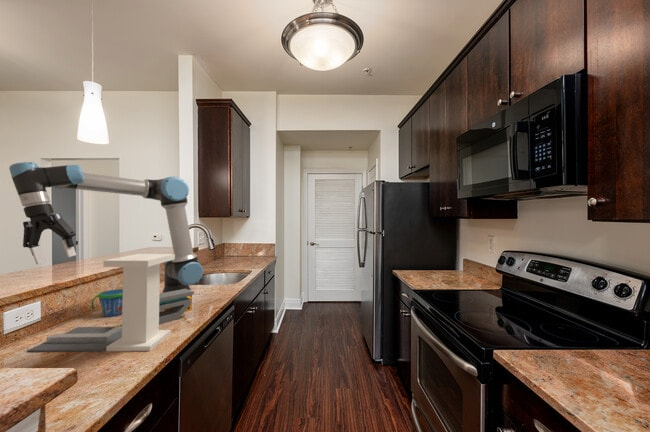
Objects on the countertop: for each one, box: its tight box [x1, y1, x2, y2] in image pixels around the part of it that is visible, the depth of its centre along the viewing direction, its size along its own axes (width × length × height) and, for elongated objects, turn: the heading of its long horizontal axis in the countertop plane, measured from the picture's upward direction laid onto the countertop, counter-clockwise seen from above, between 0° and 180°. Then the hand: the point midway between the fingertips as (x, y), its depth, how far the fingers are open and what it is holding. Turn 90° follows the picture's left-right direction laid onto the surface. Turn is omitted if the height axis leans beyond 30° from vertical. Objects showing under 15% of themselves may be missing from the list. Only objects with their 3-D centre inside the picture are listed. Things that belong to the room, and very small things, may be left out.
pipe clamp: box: [162, 296, 193, 313], centre depth 133 cm, size 12×4×6 cm, turn 142°
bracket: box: [46, 325, 122, 343], centre depth 103 cm, size 20×10×2 cm, turn 93°
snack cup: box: [90, 288, 123, 318], centre depth 130 cm, size 16×10×10 cm
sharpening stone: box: [159, 289, 195, 326], centre depth 122 cm, size 25×8×11 cm, turn 142°
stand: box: [102, 253, 175, 352], centre depth 101 cm, size 14×18×30 cm
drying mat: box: [26, 326, 122, 353], centre depth 103 cm, size 24×20×1 cm
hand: (56, 259), depth 108 cm, fingers open, 13 cm apart
